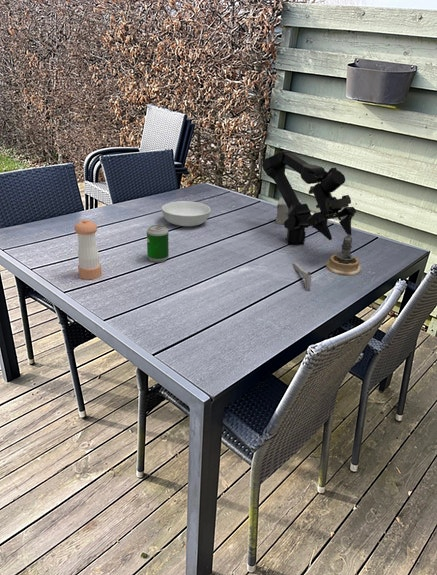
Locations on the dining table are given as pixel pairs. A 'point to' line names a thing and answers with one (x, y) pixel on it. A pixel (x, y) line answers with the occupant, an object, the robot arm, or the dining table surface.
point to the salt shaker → (345, 251)
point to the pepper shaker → (87, 250)
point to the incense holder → (282, 211)
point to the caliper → (304, 275)
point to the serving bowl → (186, 213)
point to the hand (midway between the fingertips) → (340, 237)
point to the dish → (343, 266)
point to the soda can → (157, 243)
